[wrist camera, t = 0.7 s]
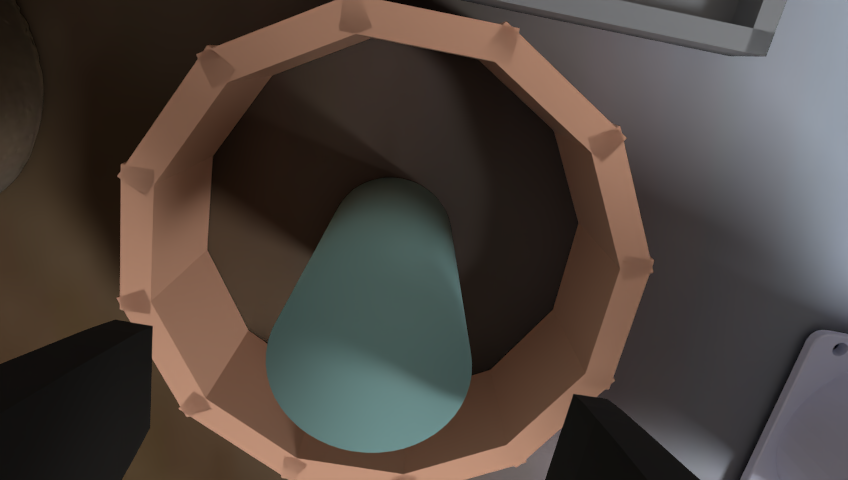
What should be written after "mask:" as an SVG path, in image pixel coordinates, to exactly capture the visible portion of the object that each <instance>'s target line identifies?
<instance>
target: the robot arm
mask: <svg viewBox="0 0 848 480" xmlns="http://www.w3.org/2000/svg"><path fill="white" fill-rule="evenodd" d="M152 337H153V326H150V325H144V324H138V323H132V322H125V321H119V320H113V321H110V322H107V323H104V324H101V325H98V326H95V327H92V328H90V329H87V330H84V331H82V332H79V333H77V334H74V335H72V336H69V337H67V338H64V339H62V340H59V341H57V342H54V343H52V344H49V345H47V346H44V347H42V348H39V349H37V350H34V351H32V352H29V353H27V354H24V355H22V356H19V357H17V358H14V359H12V360H9V361H7V362H4V363H2V364H0V480H122V478H123V476H124V475H125V473H126V471H127V469H128V468H129V466H130V464H131V462H132V460H133V459H134V457H135V455H136V453H137V451H138V449H139V447H140V445H141V444H142V442H143V440H144V438H145V436H146V434H147V432H148V430H149V428H150V407H151V372H152ZM837 344H839V346H838V347H837V348H836V349H834V350H833V348H834V346H835V345H837ZM545 480H700V479H699V478H697V477H696V476H695V475H694V474H693V473H692V472H691V471H689V470H688V469H687V468H686V467H685V466H684V465H683V464H682V463H681V462H679V461H678V460H677V459H676V458H675V457H674V456H673V455H672V454H670V453H669V452H668V451H667V450H666V449H665V448H664V447H663V446H662V445H660V444H659V443H658V442H657V441H656V440H655V439H654V438H653V437H652V436H650V435H649V434H648V433H647V432H646V431H645V430H644V429H643V428H642V427H640V426H639V425H638V424H637V423H636V422H635V421H634V420H632V419H631V418H630V417H629V416H628V415H627V414H625V413H624V412H623V411H622V410H621V409H619V408H618V407H617V406H616V405H614V404H613V403H612V402H610V401H609V400H608V399H603V398H597V397H591V396H585V395H578V394H573V397H572V400H571V403H570V406H569V409H568V412H567V415H566V418H565V421H564V424H563V427H562V430H561V433H560V436H559V439H558V442H557V445H556V448H555V451H554V455H553V458H552V461H551V464H550V467H549V470H548V473H547V476H546V479H545ZM740 480H848V334H846V333H841V332H835V331H829V330H818V331H815V332H814V333H812V334H811V335H810V336H809V337H808V338H807V340H806V342H805V344H804V346H803V348H802V350H801V352H800V354H799V357H798V359H797V361H796V363H795V365H794V367H793V369H792V371H791V373H790V376H789V378H788V380H787V382H786V384H785V386H784V388H783V390H782V392H781V394H780V397H779V399H778V401H777V403H776V405H775V407H774V409H773V411H772V413H771V416H770V418H769V420H768V422H767V424H766V426H765V428H764V430H763V432H762V435H761V437H760V439H759V441H758V443H757V445H756V447H755V449H754V451H753V453H752V456H751V458H750V460H749V462H748V464H747V466H746V468H745V470H744V472H743V475H742V477H741V479H740Z"/></svg>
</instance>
